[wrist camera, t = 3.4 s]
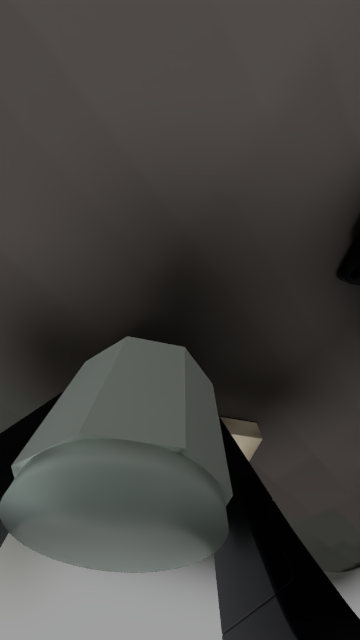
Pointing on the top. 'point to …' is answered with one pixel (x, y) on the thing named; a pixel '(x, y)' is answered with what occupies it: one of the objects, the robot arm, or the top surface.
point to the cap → (125, 466)
